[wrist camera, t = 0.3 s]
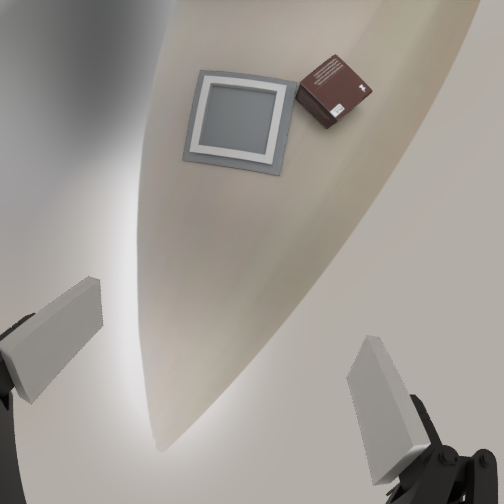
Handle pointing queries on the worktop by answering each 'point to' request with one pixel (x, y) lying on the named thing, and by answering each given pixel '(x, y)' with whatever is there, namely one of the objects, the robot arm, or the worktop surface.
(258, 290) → the worktop surface
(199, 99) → the grey and white frame
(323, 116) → the box
